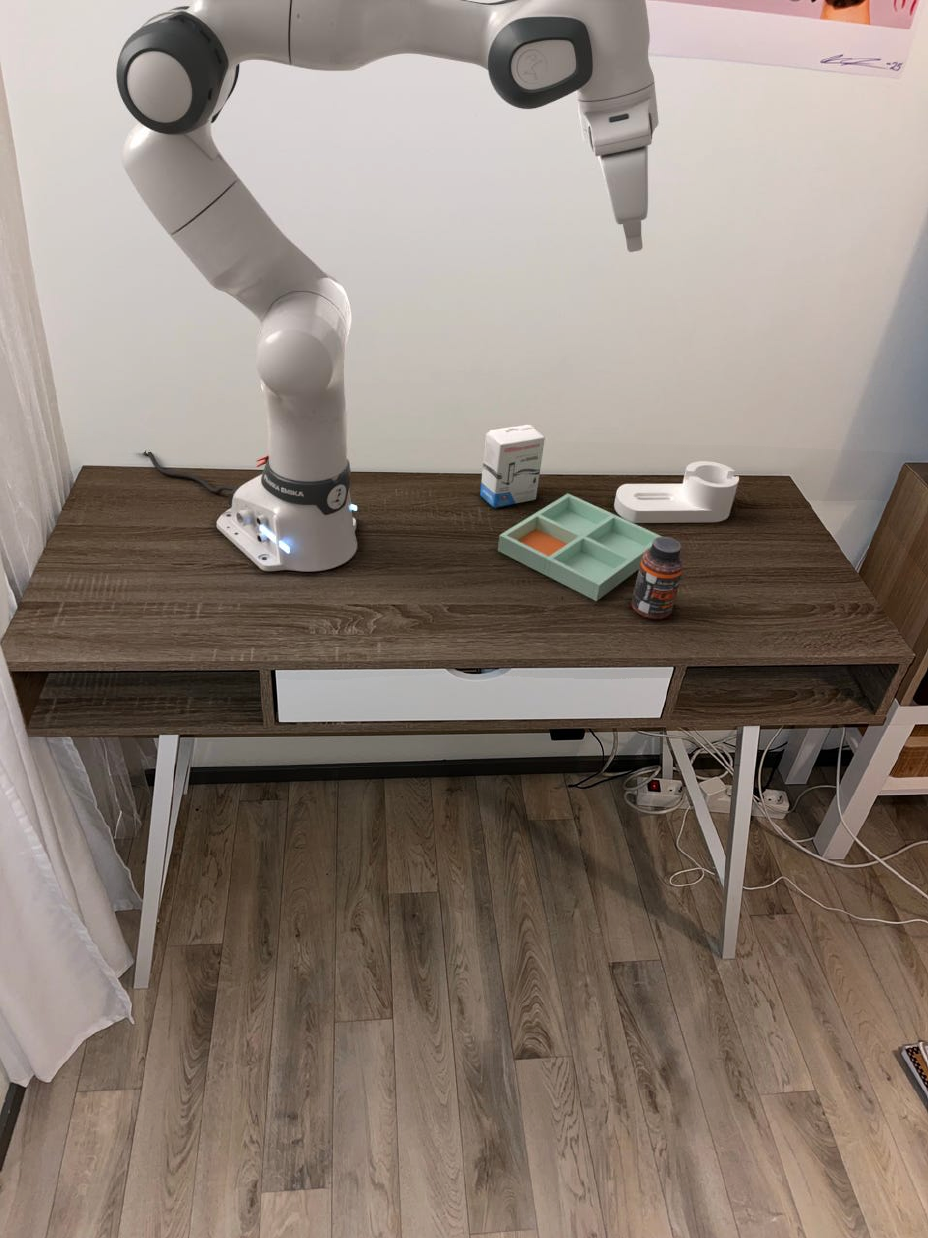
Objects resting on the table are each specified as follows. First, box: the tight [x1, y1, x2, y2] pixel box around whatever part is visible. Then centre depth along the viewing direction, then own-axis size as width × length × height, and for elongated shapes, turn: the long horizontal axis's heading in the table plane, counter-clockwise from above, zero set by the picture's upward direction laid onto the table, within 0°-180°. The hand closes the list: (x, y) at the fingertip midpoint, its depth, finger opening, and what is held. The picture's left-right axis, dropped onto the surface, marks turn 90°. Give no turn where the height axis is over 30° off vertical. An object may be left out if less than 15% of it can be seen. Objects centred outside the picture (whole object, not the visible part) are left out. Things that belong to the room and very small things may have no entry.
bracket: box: [613, 460, 740, 524], centre depth 168 cm, size 20×9×7 cm, turn 98°
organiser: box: [497, 493, 663, 602], centre depth 156 cm, size 18×18×3 cm
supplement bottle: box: [631, 536, 685, 620], centre depth 143 cm, size 6×6×11 cm
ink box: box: [479, 424, 545, 509], centre depth 166 cm, size 9×5×12 cm, turn 118°
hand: (633, 236), depth 124 cm, fingers open, 8 cm apart
